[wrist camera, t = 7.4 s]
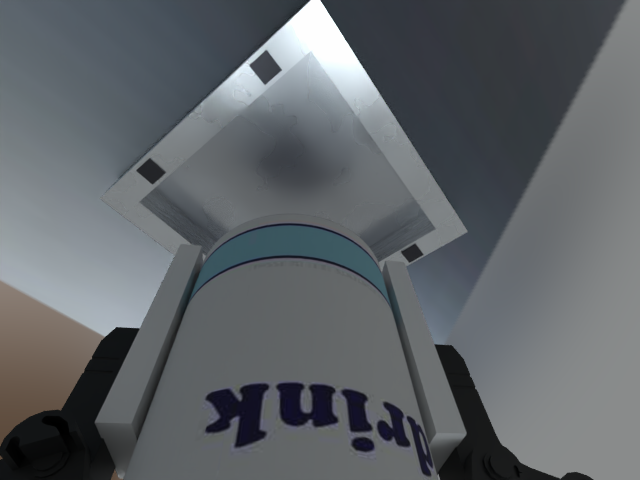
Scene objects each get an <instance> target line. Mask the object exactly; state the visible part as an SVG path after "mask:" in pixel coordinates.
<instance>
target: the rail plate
mask: <svg viewBox="0 0 640 480" xmlns="http://www.w3.org/2000/svg"><path fill="white" fill-rule="evenodd" d="M100 199H101V200H102V201H104V202H105V203H106V204H108V205H109V206H110V207H112V208H113V209H114V210H116V211H117V212H118V213H120V214H121V215H122V216H123V217H125V218H126V219H127V220H129V221H130V222H131V223H133V224H134V225H135V226H137V227H138V228H139V229H141V230H142V231H143V232H144V233H146V234H147V235H148V236H150V237H151V238H152V239H154V240H155V241H156V242H158V243H159V244H160V245H162V246H163V247H164V248H166V249H167V250H168V251H169V252H171V253H172V254H173V255H176V253H177V251H178V249H179V246H180V244H188V245H200V246H202V253H203V262H204V259H205V257H206V256H207V254H208V252H209V251H210V249H211V248H212V247H213V245H214V244H215V243H216V242H217V241H218V240H219V239H220V238H221V237H222V236H224V235H225V234H226V233H227V232H229V231H230V230H232V229H233V228H235V227H237V226H239V225H241V224H243V223H245V222H248V221H250V220H253V219H256V218H260V217H264V216H269V215H276V214H305V215H311V216H317V217H321V218H324V219H327V220H330V221H333V222H335V223H338V224H340V225H342V226H344V227H346V228H347V229H349V230H350V231H352V232H353V233H355V234H356V235H357V236H359V237H360V238H361V239H362V240H363V241H364V242H365V243H366V244H367V245H368V246H369V247H370V249H371V250H372V252H373V253H374V255H375V256H376V258H377V260H378V263H379V265H380V268H381V272H382V270H383V267H384V263H385V261H397V262H404V263H405V266H408V265H410V264H411V263H413V262H415V261H417V260H419V259H420V258H422V257H424V256H426V255H427V254H429V253H431V252H433V251H435V250H436V249H438V248H440V247H442V246H443V245H445V244H447V243H449V242H451V241H452V240H454V239H456V238H458V237H459V236H461V235H463V234H465V233H467V232H468V231H467V230H466V228H465V227H464V225H463V223H462V222H461V220H460V219H459V217H458V216H457V214H456V212H455V211H454V209H453V208H452V206H451V205H450V203H449V201H448V200H447V198H446V197H445V195H444V194H443V192H442V191H441V189H440V187H439V186H438V184H437V183H436V181H435V180H434V178H433V176H432V175H431V173H430V172H429V170H428V169H427V167H426V165H425V164H424V162H423V161H422V159H421V158H420V156H419V155H418V153H417V151H416V150H415V148H414V147H413V145H412V144H411V142H410V140H409V139H408V137H407V136H406V134H405V133H404V131H403V129H402V128H401V126H400V125H399V123H398V122H397V120H396V119H395V117H394V115H393V114H392V112H391V111H390V109H389V108H388V106H387V104H386V103H385V101H384V100H383V98H382V97H381V95H380V93H379V92H378V90H377V89H376V87H375V86H374V84H373V83H372V81H371V79H370V78H369V76H368V75H367V73H366V72H365V70H364V68H363V67H362V65H361V64H360V62H359V61H358V59H357V57H356V56H355V54H354V53H353V51H352V50H351V48H350V47H349V45H348V43H347V42H346V40H345V39H344V37H343V36H342V34H341V32H340V31H339V29H338V28H337V26H336V25H335V23H334V21H333V20H332V18H331V17H330V15H329V14H328V12H327V11H326V9H325V7H324V6H323V4H322V3H321V1H320V0H308V1H307V2H306V3H305V4H304V5H303V6H302V7H301V8H300V9H299V10H298V11H297V12H296V13H295V14H293V15H292V16H291V17H290V18H289V19H288V20H287V21H286V22H285V23H284V24H283V25H282V26H281V27H280V28H279V29H278V30H276V31H275V32H274V33H273V34H272V35H271V36H270V37H269V38H268V39H267V40H266V41H265V42H264V43H263V44H262V45H260V46H259V47H258V48H257V49H256V50H255V51H254V52H253V53H252V54H251V55H250V56H249V57H248V58H247V59H246V60H245V61H243V62H242V63H241V64H240V65H239V66H238V67H237V68H236V69H235V70H234V71H233V72H232V73H231V74H230V75H229V76H228V77H226V78H225V79H224V80H223V81H222V82H221V83H220V84H219V85H218V86H217V87H216V88H215V89H214V90H213V91H212V92H211V93H209V94H208V95H207V96H206V97H205V98H204V99H203V100H202V101H201V102H200V103H199V104H198V105H197V106H196V107H195V108H193V109H192V110H191V111H190V112H189V113H188V114H187V115H186V116H185V117H184V118H183V119H182V120H181V121H180V122H179V123H178V124H176V125H175V126H174V127H173V128H172V129H171V130H170V131H169V132H168V133H167V134H166V135H165V136H164V137H163V138H162V139H161V140H159V141H158V142H157V143H156V144H155V145H154V146H153V147H152V148H151V149H150V150H149V151H148V152H147V153H146V154H145V155H144V156H142V157H141V158H140V159H139V160H138V161H137V162H136V163H135V164H134V165H133V166H132V167H131V168H130V169H129V170H128V171H127V172H125V173H124V174H123V175H122V176H121V177H120V178H119V179H118V180H117V181H116V182H115V183H114V184H113V185H112V186H111V187H110V188H109V189H108V190H107V191H106V193H105V194H104V195H103V196H102V197H101V198H100Z"/></svg>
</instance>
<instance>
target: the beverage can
mask: <svg viewBox="0 0 640 480" xmlns="http://www.w3.org/2000/svg"><path fill="white" fill-rule="evenodd" d="M123 480H438V477H437V473H436V469H435V466H434V462H433V458H432V455H431V451H430V447H429V444H428V440H427V437H426V433H425V429H424V426H423V422H422V418H421V415H420V411H419V407H418V404H417V400H416V396H415V393H414V389H413V385H412V382H411V378H410V374H409V371H408V367H407V363H406V360H405V356H404V352H403V349H402V345H401V341H400V338H399V334H398V330H397V327H396V323H395V319H394V316H393V312H392V308H391V305H390V301H389V297H388V294H387V290H386V286H385V283H384V279H383V275H382V272H381V268H380V265H379V263H378V260H377V258H376V256H375V255H374V253H373V252H372V250H371V249H370V247H369V246H368V245H367V244H366V243H365V242H364V241H363V240H362V239H361V238H360V237H359V236H357V235H356V234H355V233H353V232H352V231H350V230H349V229H347V228H346V227H344V226H342V225H340V224H338V223H335V222H333V221H330V220H327V219H324V218H321V217H317V216H311V215H305V214H276V215H269V216H264V217H260V218H256V219H253V220H250V221H248V222H245V223H243V224H241V225H239V226H237V227H235V228H233V229H232V230H230V231H229V232H227V233H226V234H225V235H224V236H222V237H221V238H220V239H219V240H218V241H217V242H216V243H215V244H214V245H213V247H212V248H211V249H210V251H209V252H208V254H207V256H206V257H205V259H204V262H203V264H202V267H201V270H200V273H199V275H198V278H197V281H196V283H195V286H194V289H193V292H192V294H191V297H190V300H189V302H188V305H187V308H186V310H185V313H184V316H183V319H182V321H181V324H180V327H179V329H178V332H177V335H176V338H175V340H174V343H173V346H172V348H171V351H170V354H169V357H168V359H167V362H166V365H165V367H164V370H163V373H162V375H161V378H160V381H159V384H158V386H157V389H156V392H155V394H154V397H153V400H152V403H151V405H150V408H149V411H148V413H147V416H146V419H145V422H144V424H143V427H142V430H141V432H140V435H139V438H138V441H137V443H136V446H135V449H134V451H133V454H132V457H131V459H130V462H129V465H128V468H127V470H126V473H125V476H124V478H123Z"/></svg>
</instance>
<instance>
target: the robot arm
mask: <svg viewBox="0 0 640 480" xmlns="http://www.w3.org/2000/svg"><path fill="white" fill-rule="evenodd" d="M202 264H203V253H202V246H200V245H188V244H180V246H179V249H178V251H177V253H176V255H175V257H174V259H173V261H172V263H171V265H170V267H169V269H168V271H167V273H166V275H165V278H164V280H163V282H162V284H161V286H160V288H159V290H158V292H157V294H156V296H155V298H154V300H153V302H152V304H151V307H150V309H149V311H148V313H147V315H146V317H145V319H144V321H143V323H142V325H141V327H140V329H139V328H121V327H116V328H115V329H114V330H113V331H112V332H110V333H109V334H108V335H107V336H106V337H105V338H104V339H103V340H101V342H100V344H99V346H98V347H97V349H96V351H95V352H94V354H93V356H92V359H91V360H90V361H89V363H88V365H87V366H86V368H85V371H84V373H83V374H82V375H81V377H80V379H79V380H78V382H77V384H76V386H75V387H74V389H73V391H72V392H71V394H70V396H69V398H68V399H67V401H66V403H65V405H64V406H63V408H62V410H61V411H60V410H51V411H43V412H41V413H38V414H36V415H33V416H31V417H29V418H27V419H26V420H24V421H23V422H21V423H20V424H18V425H17V426H15V428H14V429H13V430H12V431H11V432H10V433H9V434H8V435H7V436H6V437H5V438H4V440H3V442H2V444H1V446H0V456H1V457H2V458H3V459H1V460H0V480H111V477H112V474H113V472H114V470H115V471H116V473H117V475H118V477H119V478H124V476H125V473H126V470H127V468H128V465H129V462H130V459H131V457H132V454H133V451H134V449H135V446H136V443H137V441H138V438H139V435H140V432H141V430H142V427H143V424H144V422H145V419H146V416H147V413H148V411H149V408H150V405H151V403H152V400H153V397H154V394H155V392H156V389H157V386H158V384H159V381H160V378H161V375H162V373H163V370H164V367H165V365H166V362H167V359H168V357H169V354H170V351H171V348H172V346H173V343H174V340H175V338H176V335H177V332H178V329H179V327H180V324H181V321H182V319H183V316H184V313H185V310H186V308H187V305H188V302H189V300H190V297H191V294H192V292H193V289H194V286H195V283H196V281H197V278H198V275H199V273H200V270H201V267H202ZM382 275H383V279H384V283H385V286H386V290H387V294H388V297H389V301H390V305H391V308H392V312H393V316H394V319H395V323H396V327H397V330H398V334H399V338H400V341H401V345H402V349H403V352H404V356H405V360H406V363H407V367H408V371H409V374H410V378H411V382H412V385H413V389H414V393H415V396H416V400H417V404H418V407H419V411H420V415H421V418H422V422H423V426H424V429H425V433H426V437H427V440H428V444H429V447H430V451H431V455H432V458H433V462H434V466H435V469H436V473H437V475H438V474H439V477H440V480H593V479H592V478H590V477H589V476H587V475H584V474H581V473H578V472H572V473H567V474H566V475H565V476H563V477H562V478H561V479H559V478H556V477H554V476H551V475H548V474H546V473H543V472H540V471H538V470H535V469H532V468H530V467H528V466H526V465H524V464H522V463H520V462H519V460H518V459H517V457H516V456H515V455H514V454H513V453H512V452H510V451H509V450H508V449H507V448H506V447H504V446H502V445H501V443H500V441H499V440H498V438H497V436H496V434H495V432H494V429H493V427H492V424H491V422H490V420H489V418H488V415H487V413H486V410H485V408H484V406H483V403H482V401H481V399H480V396H479V394H478V392H477V390H476V389H475V385H474V382H473V380H472V378H471V377H470V373H469V371H468V368H467V366H466V364H465V361H464V359H463V358H462V357H461V356H460V354H459V353H458V352H457V351H456V350H455V349H454V347H453V346H452V345H436V344H434V342H433V340H432V337H431V334H430V331H429V329H428V326H427V323H426V320H425V318H424V315H423V312H422V309H421V307H420V304H419V301H418V298H417V296H416V293H415V290H414V288H413V285H412V282H411V279H410V277H409V274H408V271H407V268H406V266H405V263H404V262H397V261H385V263H384V267H383V270H382Z"/></svg>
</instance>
